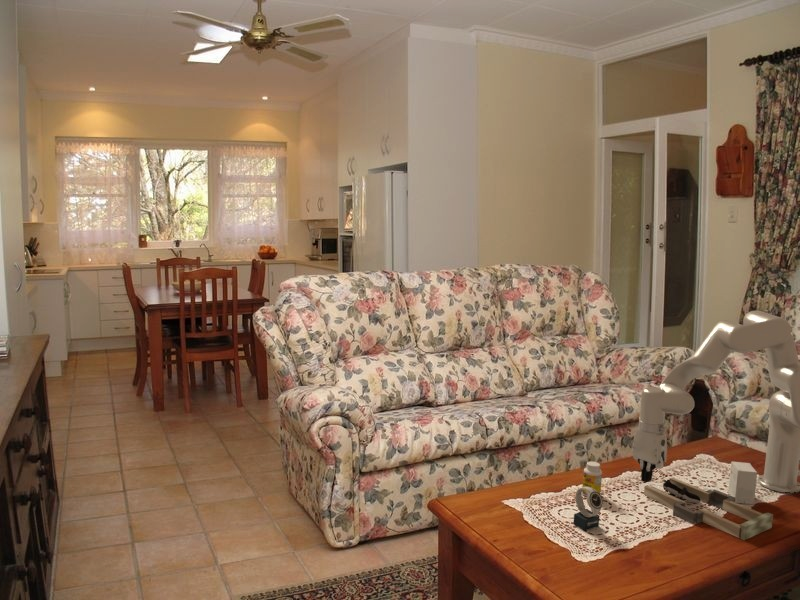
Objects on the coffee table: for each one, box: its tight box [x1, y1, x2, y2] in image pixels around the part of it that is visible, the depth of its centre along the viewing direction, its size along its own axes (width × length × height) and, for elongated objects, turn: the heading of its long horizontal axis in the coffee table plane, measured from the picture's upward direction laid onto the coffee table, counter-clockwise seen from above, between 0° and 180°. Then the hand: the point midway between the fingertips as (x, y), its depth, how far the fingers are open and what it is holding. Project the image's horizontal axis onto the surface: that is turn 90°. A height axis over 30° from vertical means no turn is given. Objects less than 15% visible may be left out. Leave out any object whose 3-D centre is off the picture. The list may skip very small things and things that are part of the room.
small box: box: [727, 461, 758, 505], centre depth 217 cm, size 8×6×10 cm
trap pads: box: [706, 500, 723, 510], centre depth 209 cm, size 18×5×1 cm, turn 124°
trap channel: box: [643, 477, 774, 541], centre depth 208 cm, size 21×33×4 cm, turn 34°
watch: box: [573, 486, 604, 532], centre depth 197 cm, size 6×8×11 cm
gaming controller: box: [662, 479, 702, 504], centre depth 217 cm, size 11×4×7 cm
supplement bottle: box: [581, 461, 603, 498], centre depth 217 cm, size 6×6×10 cm
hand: (646, 480), depth 225 cm, fingers closed
